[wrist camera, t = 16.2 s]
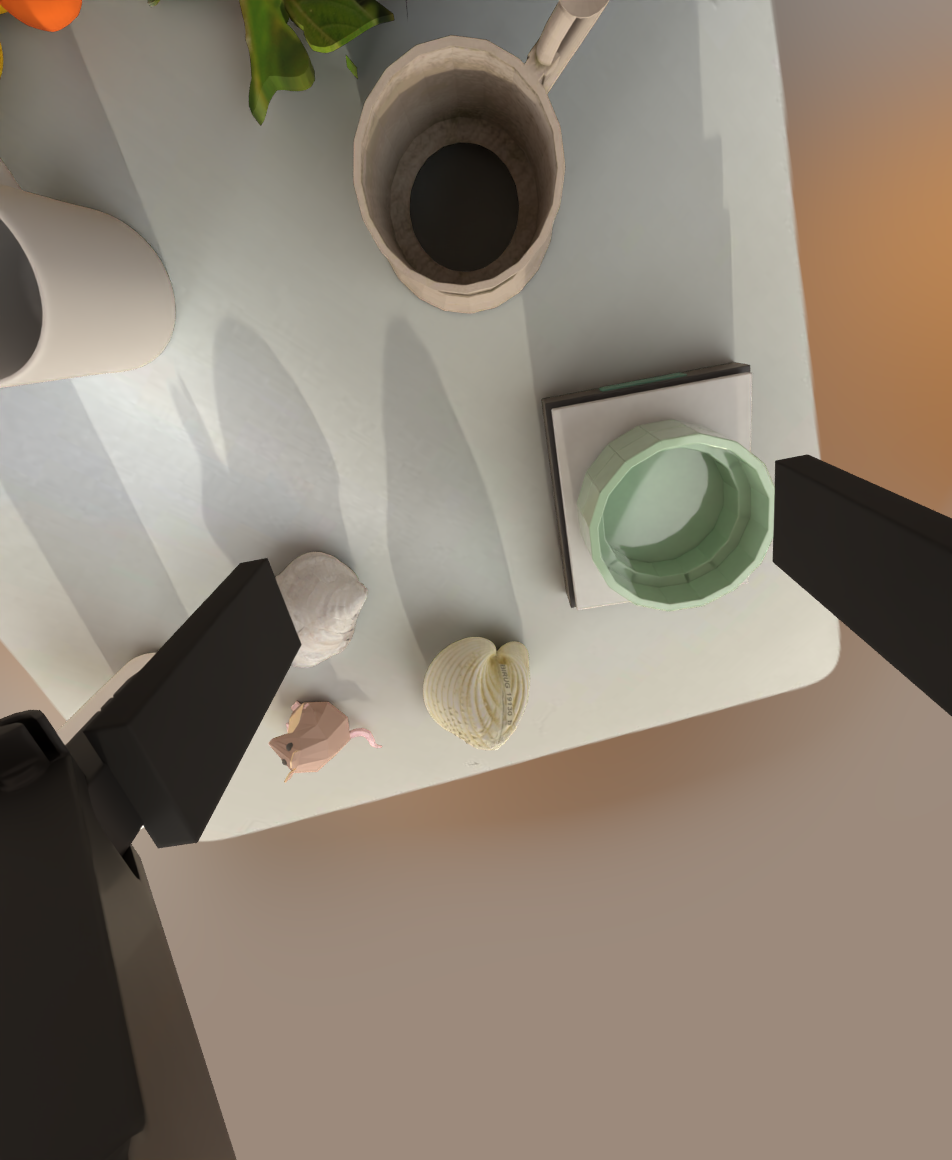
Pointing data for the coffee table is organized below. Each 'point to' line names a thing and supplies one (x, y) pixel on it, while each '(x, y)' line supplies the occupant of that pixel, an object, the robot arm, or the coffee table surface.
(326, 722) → the mouse figurine
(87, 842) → the robot arm
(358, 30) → the decorative ornament
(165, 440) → the coffee table surface
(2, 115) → the coffee table surface
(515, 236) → the mug
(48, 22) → the duckling
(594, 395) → the kitchen scale
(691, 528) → the bowl
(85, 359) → the mug
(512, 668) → the seashell
